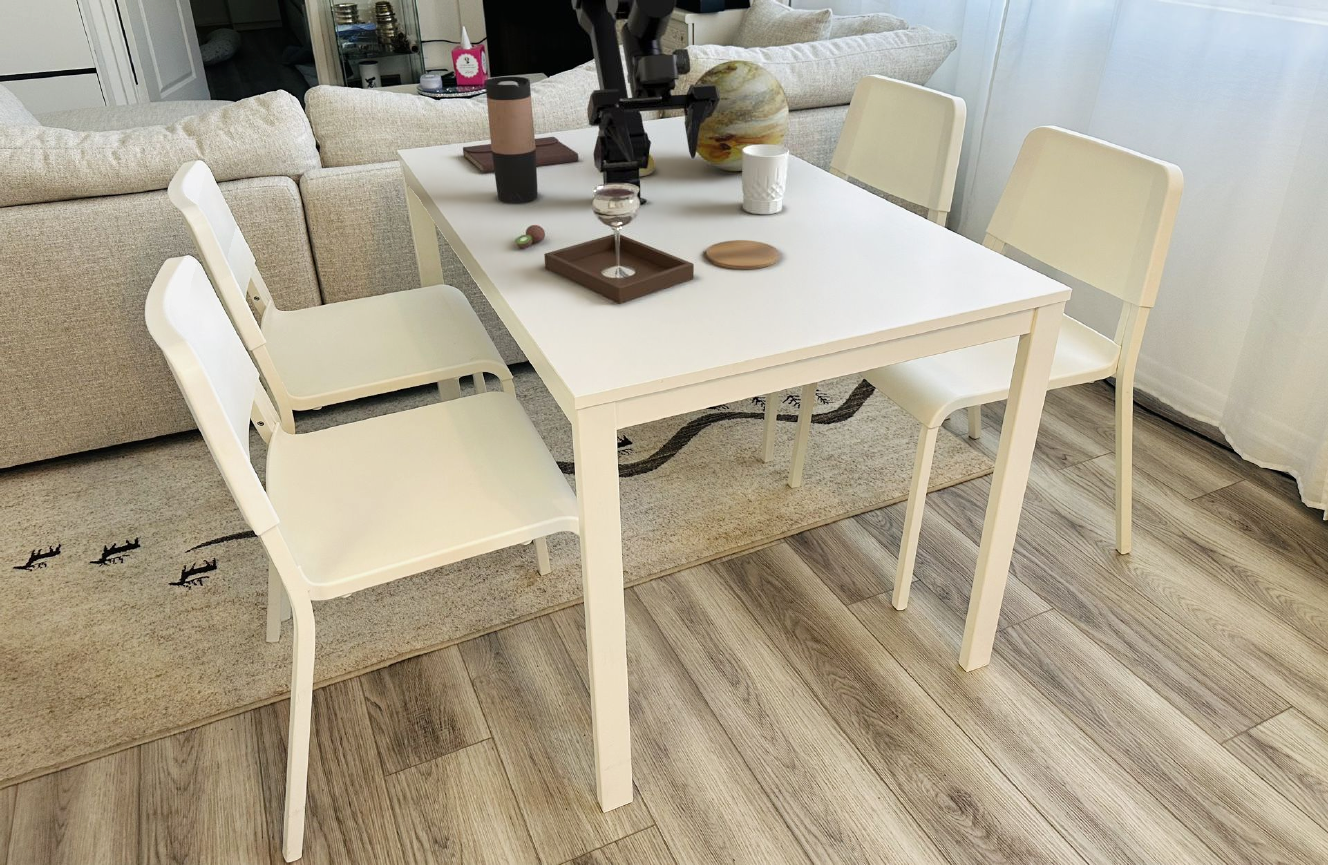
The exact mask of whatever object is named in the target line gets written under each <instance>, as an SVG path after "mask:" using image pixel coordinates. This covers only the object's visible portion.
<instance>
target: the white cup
mask: <svg viewBox="0 0 1328 865" xmlns="http://www.w3.org/2000/svg"><path fill="white" fill-rule="evenodd" d="M789 158H790V150H789V148H787V147H785V146H782V145H780V146H777V145H752V146H747V147H745V148H743V149H742V171H741V182H742V183H741V184H742V185H741V186H742V187H741V188H742V209H743V210H744V211H745V212H747V213H751V214H755V215H773V214H777V213H780V212H781V211H782V210H783V204H784V196H785V192H786V186H787V185H786V183H787V176H788V169H789V168H788V166H789Z"/></svg>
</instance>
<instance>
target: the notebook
mask: <svg viewBox="0 0 1328 865" xmlns="http://www.w3.org/2000/svg"><path fill="white" fill-rule="evenodd" d="M535 149H536V168H537V167H544V166H553V165H560V164H567V163H575V162H579V154H578V152H577V151H575V150H573V149H572V148H570V147H569V146H567V145H565V144H564V143H562V142H561V141H560V140H559V139H558V138H557V137H555V136H547V137H537V138H535ZM462 153H463V157H464V158H465V159H467V160H468V161H469V162H470V163H471V164H472V165H473V166H474V167H475V168H477V170H479V171H480V172H481V173H482V174H489V173H495V172H494V165H493V157H492V149H491V143H488V144H487V143H486V144H478V145H469V146H463V147H462Z"/></svg>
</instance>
